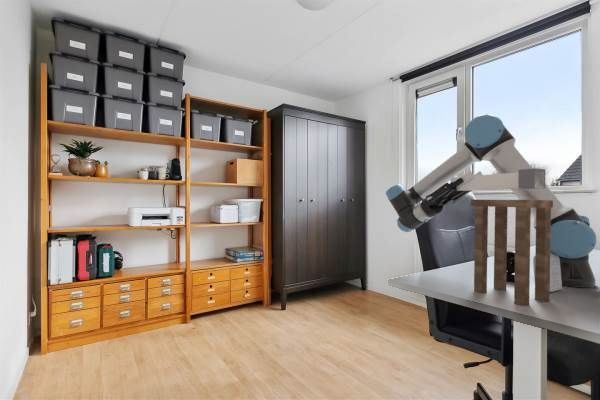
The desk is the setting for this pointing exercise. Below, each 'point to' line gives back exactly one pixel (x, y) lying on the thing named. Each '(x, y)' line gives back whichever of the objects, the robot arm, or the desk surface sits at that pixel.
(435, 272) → the desk surface
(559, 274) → the photo printer
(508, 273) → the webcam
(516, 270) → the walnut stand
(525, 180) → the light grey bar
